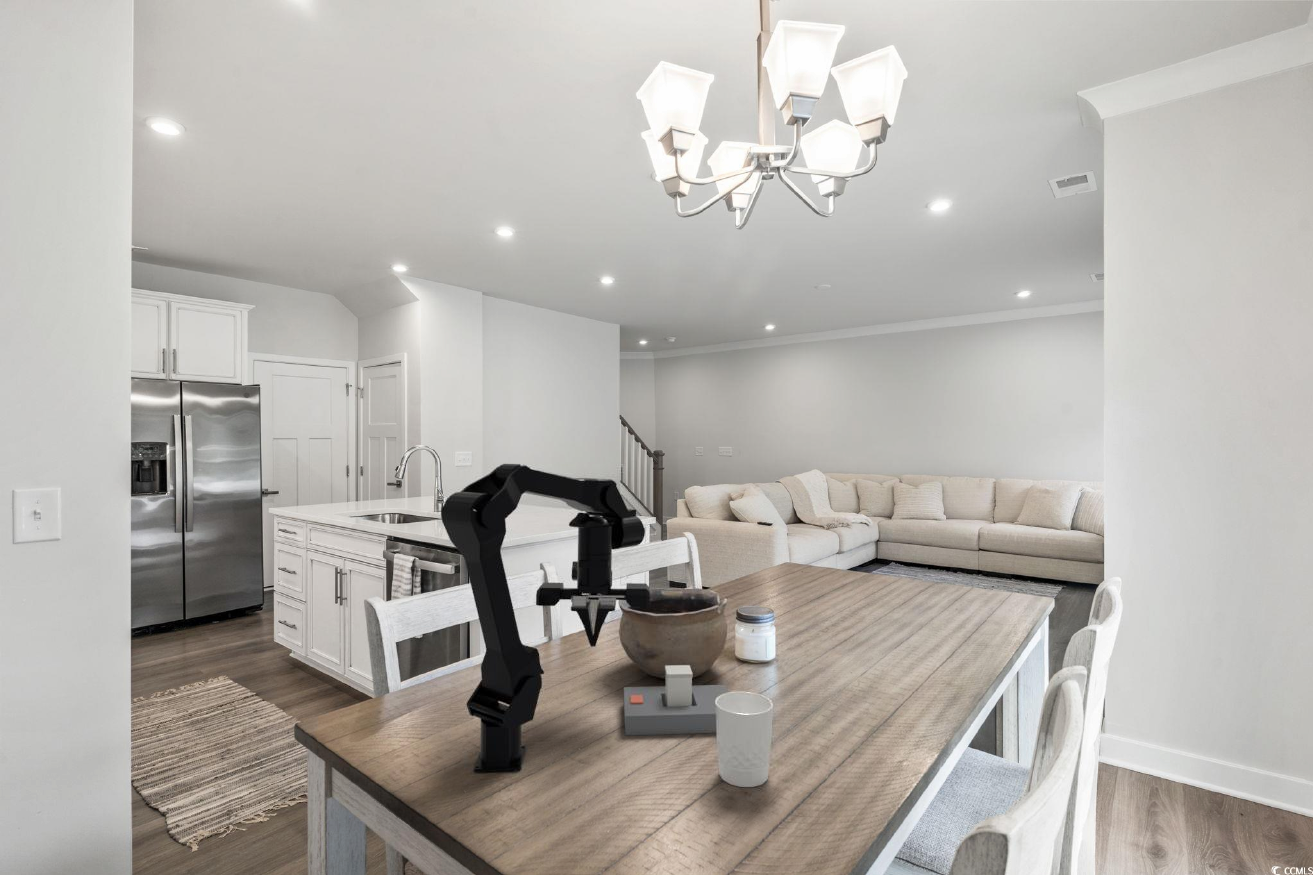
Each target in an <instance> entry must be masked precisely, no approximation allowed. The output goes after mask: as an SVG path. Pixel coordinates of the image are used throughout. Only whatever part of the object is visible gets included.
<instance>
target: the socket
mask: <svg viewBox="0 0 1313 875" xmlns="http://www.w3.org/2000/svg"><path fill="white" fill-rule="evenodd" d="M729 692H730V691H729V689H728V688H727V685H726V684H711V685H708V684H707V685H706V684H705V685H702V684H701V685H700V684H699V685H692V706H671V707H665V696H666V685H664V686H663V685H662V686H661V685H660V686H627V687H626V686H624V687H623V711H624V712H623V716H624V718H623V719H624V733H625V734H624V735H625V736H652V735H683V734H684V735H686V734H687V735H689V734H716V710H715V700H716V698H717V697H718V696H720V695H722V694H725V693H729Z"/></svg>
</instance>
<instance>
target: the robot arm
mask: <svg viewBox="0 0 1313 875" xmlns="http://www.w3.org/2000/svg"><path fill="white" fill-rule="evenodd" d="M523 494H528V495H533V496H539V497H543V498H550V499H554V500H559V501H562V502H564V503H565V504H566V505H567V506H568V507H570V508H573V509H574V510H577V511H580V512H578V513H577V514H576V515H575V517H574V518H573V519H571V521H569V522H568V526H569V527H571V528H577V529H578V531H577V561H572V563H571V564H572V567H571V579H572V581H575V582H576V581H577V582H576V587H574V588H573V587H569V588H568V587H565V586H564V582H543V583H542V584H541V585H540V586H539V587H538V588H537V590H536V595H535V605H536V606H538V607H555V606H556V605H557V604H558V603H559V602H560V601H561V600H562V601H563V600H565V601H567V600H568V601H569V600H570V603H571V606H570V611H571V612H576V614H577V615H578V617H579V619H580V621H581V623H582V625H583V628H584V631H585V634H586V637H587V640H588V643H589V645H590V647H591V648H592V647H596V646H597V643H598V639H599V636H600V634H601V630H602V626H603V625H604V623H605V621H606V618H607V616H608V614H609V613H610V612H615V611H616V604H617V601H619V600H626V602H627V603H628V604H629V605H630V606H631V607H647V606H650V590H649V589H650V586H649V585H648V584H647V583H642V582H641V583H637V582H635V583H632V582H631V583H630V582H629V583H626V588H613V570H612V563H613V562H612V556H613V553H612V551H613V550H619V549H625V548H626V549H627V548H632V547H637V546H639V545H640V544H642V542H643V541H644V538H645V535H646V528H645V527H644V524H643V521H642V520H641V519H640V518H639V517H638V516H637V509H633V508H628V507H627V505H626V503H625V501H624V498H623V497H622V494H621V492H620V490H619V488H618V486H617V482H616V481H615V480H613V479H612V478H611V479H610V478H593V477H592V478H590V477H589V478H588V477H572V476H566V475H563V474H558V473H553V472H550V471H545V470H541V469H538V468H532V467H529V466H528V465H527V464H522V463H521V464H520V463H503V464H499V465H498V466H496V467H495V468H494V469H493V470H492V471H491V472H490V473H488V474H487V475H485V476H483V477H481V478H479V479H477V480H475V481H473V482H471V483H470V484H468V485H467V486H465V487H464V488H463V489H462V490H460V491H458V492H454V493H452V494H451V495H449V496H448V498H447V499H446V500H445V502H444V504H443V506H442V507H441V509H440V518H441V522H442V524H443V527H444V529H445V531H446V534H447V535H448V539H449V540H450V542H451V544H453V545H454V547H455V548H456V549H457V551H458V553H460V554H461V556H462V557H463V558H464V561H465V565H466V569H467V574H468V577H469V578H468V579H469V583H470V587H471V590H472V595H473V599H474V603H475V607H476V613H477V615H478V619H479V624H480V629H481V633H482V637H483V641H484V645H485V653H484V655H483V659H482V661H481V665H480V672H481V674H480V676H481V681H480V682H479V683H478V684H477V686H476V688H475V689H474V691H473V692H472V694H471V695H470V696H469V699H468V700H467V702H466V707H467V710H468V713H469V715H470V716H471V717H476V718H478V719H480V752H479V755H478V757H477V758H476V762H475V763H474V766H473V772H475V773H483V772H484V773H487V772H490V773H491V772H514V771H515V772H517V771H520V770H521V769H522V768H523V767H522V766H523V763H524V759H525V757H526V753H527V746H526V745H522V726H523V725H524V724H526V723H529V722H531V721H533V720H534V717H535V712H536V708H537V706H538V701H539V696H540V693H541V689H542V686H543V678H542V675H544V674H545V671H544V670H543V669H542V666H541V657H540V652H539V650H538V648H536V647H533V646H529V645H525V644H523V642H522V641H521V637H520V633H519V632H520V631H519V629H518V628H519V627H518V624H517V619H516V615H515V610H514V607H513V606H514V604H513V602H512V598H511V593H510V592H511V591H510V589H509V584H508V579H507V575H506V571H505V566H504V561H503V557H502V552H501V550H502V547H503V543H504V539H505V537H506V533H507V524H506V523H507V522H506V519H507V518H508V517H510V515H511V514H512V513H513V512H514V511H515V510H517V508H518V505H519V503H520V500H521V498H522V495H523ZM592 600H593V601H598V604H597V608H596V615H595V622H594V627H593V618H592V616H593V615H592V605H591V604H592V602H591V601H592Z"/></svg>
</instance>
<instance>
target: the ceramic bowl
mask: <svg viewBox="0 0 1313 875" xmlns="http://www.w3.org/2000/svg"><path fill="white" fill-rule="evenodd" d="M649 590H650V606H647V607H631V606H630V605H629V604H628V603H627V602H626V600H618V606H619V608H620V610H621V612H622V614H621V617H620V621H619V629H618V633H619V634H618V635H619V641H620V644H621V646H622V648H623V650H624V652H625V654H626V656H627V657H628V658H629V659H630V660H631V661H632V663H634V664H635V665H637V667H638V668H639V669H640V670H642V671H643V672H644V673H646V674H648V675H650V676H653V677H655V678H658V679H663V680H666V671H665V666H671V665H690V668H691V671H692V674H693V678H696V677H698V676H701V675H703V674H704V673H705V672H706V671H708V670H709V669H711V668H712V667H713V665H714V664H715V662H716V661H717V660H718V658H720V656H721V654H722V653H723V651H724V650H725V646H726V644H727V637H728V622H727V618H726V615H725V609H726V606H727V601H728V599H727V598H722V599H720V593H719V592H717V591H714V590H712V589H711V590H710V589H704V588H679V587H661V588H660V587H651V588H649Z"/></svg>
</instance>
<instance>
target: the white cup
mask: <svg viewBox="0 0 1313 875" xmlns="http://www.w3.org/2000/svg"><path fill="white" fill-rule="evenodd" d="M773 706H774V705H773V701H772V700H771V699H769V698H768V697H766V696H764V695H762V694H760V693H756V692H751V691H750V692H749V691H729V693H725V694H722V695H720V696H718V697H717V698H716V700H715V710H716V733H715V734H716V746H717V747H716V748H717V750H716V751H717V756H718V758H717V759H718V774H719V776H720V777H721V780H722V781H724V782H726V783H727V784H729V785H731V786H735V787H740V788H754V787H757V786H758V787H759V786H762V785H764V783H766V782H767V781H768V778H769V764H770V758H771V747H772V745H771V744H772V742H771V741H772V733H773V732H772V729H773V728H772V727H773V712H774V711H773V710H774V709H773V708H774V707H773Z"/></svg>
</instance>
